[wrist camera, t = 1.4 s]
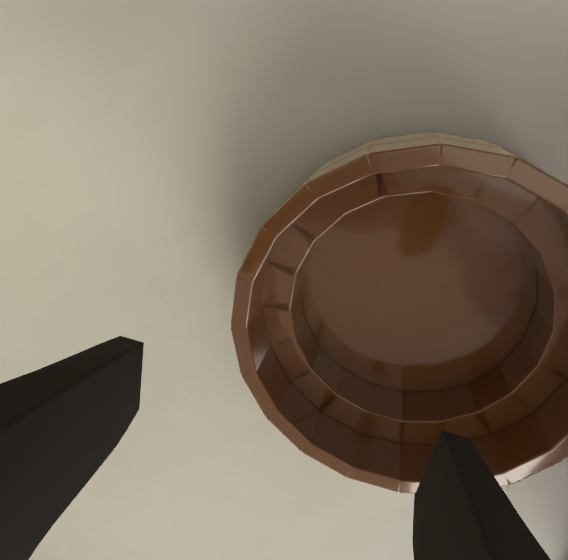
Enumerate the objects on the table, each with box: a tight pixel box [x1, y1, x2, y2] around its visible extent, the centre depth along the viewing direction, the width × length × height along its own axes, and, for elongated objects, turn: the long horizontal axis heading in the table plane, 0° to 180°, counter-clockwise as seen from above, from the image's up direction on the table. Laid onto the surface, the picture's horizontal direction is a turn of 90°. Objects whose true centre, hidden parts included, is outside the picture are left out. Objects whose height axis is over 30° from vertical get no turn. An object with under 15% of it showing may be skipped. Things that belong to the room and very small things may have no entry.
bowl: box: [231, 132, 568, 493], centre depth 17 cm, size 12×12×4 cm
